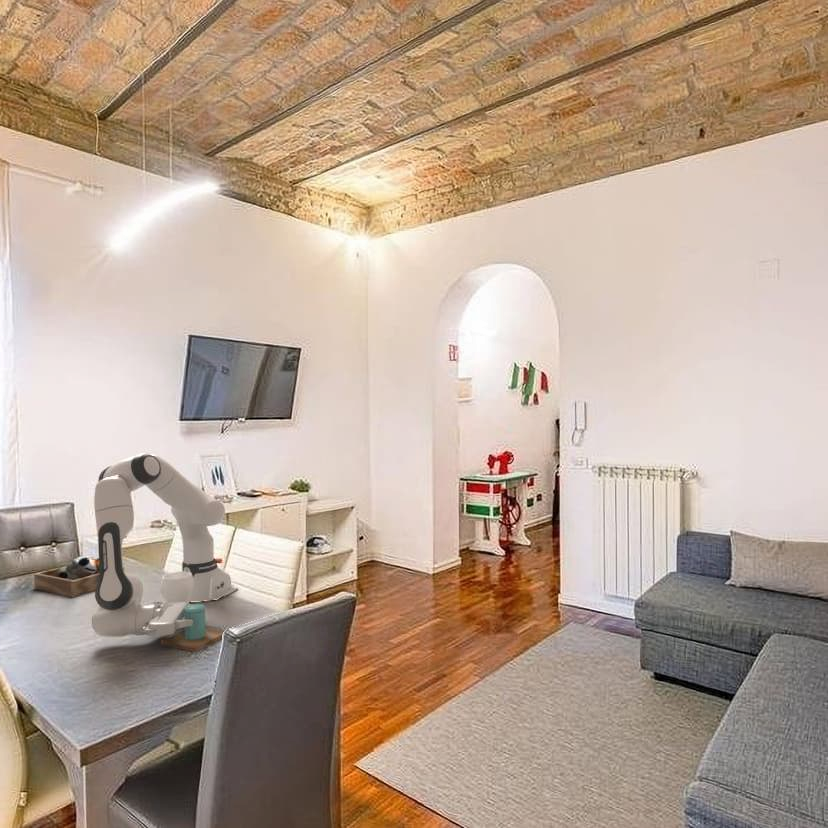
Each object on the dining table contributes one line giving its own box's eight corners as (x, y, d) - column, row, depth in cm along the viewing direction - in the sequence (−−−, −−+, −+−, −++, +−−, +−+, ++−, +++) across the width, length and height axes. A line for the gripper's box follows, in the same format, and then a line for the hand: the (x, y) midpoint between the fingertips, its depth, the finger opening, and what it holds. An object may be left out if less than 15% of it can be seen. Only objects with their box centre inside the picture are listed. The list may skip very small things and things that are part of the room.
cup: (174, 626, 197) (173, 581, 197) (154, 620, 203) (153, 577, 202) (201, 616, 206) (200, 573, 206) (181, 611, 212) (180, 569, 211)
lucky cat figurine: (80, 576, 257) (96, 547, 258) (94, 591, 251) (111, 562, 252) (48, 575, 244) (64, 545, 245) (62, 590, 238) (79, 560, 239)
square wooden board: (196, 628, 195) (196, 612, 195) (228, 635, 189) (228, 619, 189) (161, 644, 182) (160, 627, 182) (194, 651, 176) (194, 634, 176)
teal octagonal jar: (195, 630, 190) (195, 602, 189) (209, 633, 187) (209, 605, 187) (180, 637, 184) (180, 608, 184) (194, 640, 182) (194, 611, 181)
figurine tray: (86, 574, 261) (86, 560, 260) (124, 581, 249) (124, 567, 249) (34, 588, 241) (34, 574, 240) (73, 596, 229) (72, 581, 229)
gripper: (139, 621, 173) (188, 618, 175) (158, 599, 193) (202, 596, 195) (139, 642, 173) (189, 639, 175) (159, 618, 193) (203, 615, 195)
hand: (196, 616), depth 185 cm, fingers open, 8 cm apart
